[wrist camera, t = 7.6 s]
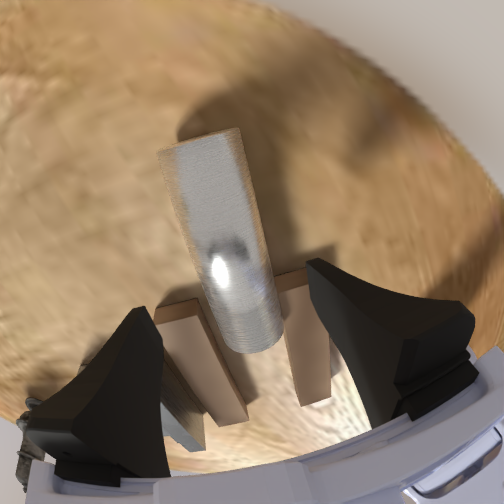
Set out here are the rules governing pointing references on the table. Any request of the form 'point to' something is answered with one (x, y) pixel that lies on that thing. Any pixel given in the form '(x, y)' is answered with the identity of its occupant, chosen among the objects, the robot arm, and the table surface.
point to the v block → (179, 413)
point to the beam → (214, 367)
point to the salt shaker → (27, 447)
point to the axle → (225, 236)
